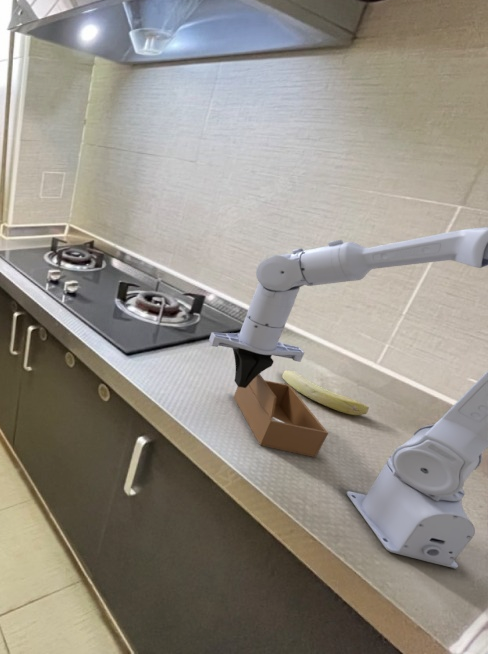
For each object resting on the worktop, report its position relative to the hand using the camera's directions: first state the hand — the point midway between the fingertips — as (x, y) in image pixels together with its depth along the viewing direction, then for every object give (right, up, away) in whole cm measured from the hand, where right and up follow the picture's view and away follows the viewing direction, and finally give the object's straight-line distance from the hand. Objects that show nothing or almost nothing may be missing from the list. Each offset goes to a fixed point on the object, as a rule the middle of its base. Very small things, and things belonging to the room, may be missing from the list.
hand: (240, 384), depth 73 cm
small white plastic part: (+7, -7, 0) cm, 10 cm away
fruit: (+24, -6, +11) cm, 28 cm away
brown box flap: (+3, 0, -1) cm, 3 cm away
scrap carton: (+7, -8, +1) cm, 11 cm away
